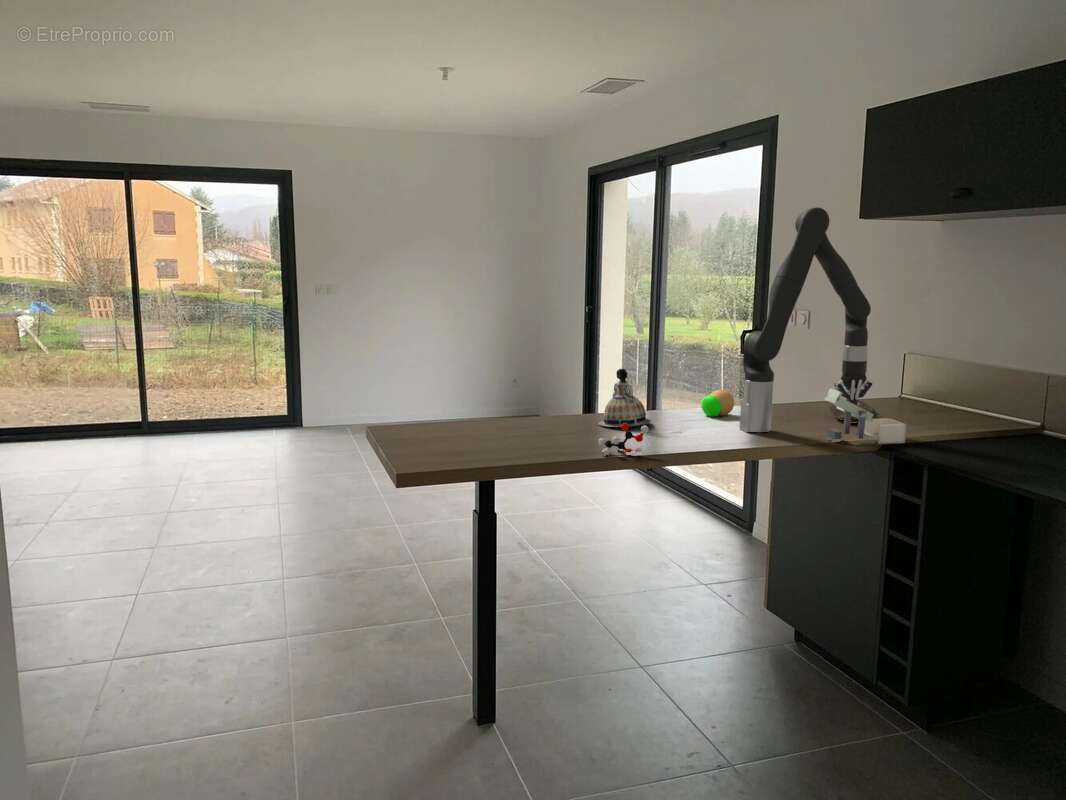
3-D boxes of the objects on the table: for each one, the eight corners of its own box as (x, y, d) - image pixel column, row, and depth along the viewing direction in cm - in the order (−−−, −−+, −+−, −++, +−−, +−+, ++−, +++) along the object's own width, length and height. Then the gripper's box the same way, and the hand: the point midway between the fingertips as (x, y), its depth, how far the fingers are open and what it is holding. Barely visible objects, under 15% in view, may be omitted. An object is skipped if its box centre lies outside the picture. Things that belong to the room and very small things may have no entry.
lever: (834, 403, 245) (840, 391, 245) (807, 393, 262) (812, 382, 262) (877, 425, 249) (883, 413, 249) (847, 413, 266) (853, 403, 265)
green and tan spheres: (737, 386, 285) (713, 395, 279) (741, 412, 286) (718, 421, 280) (714, 386, 295) (691, 395, 289) (719, 411, 296) (696, 420, 290)
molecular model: (609, 470, 231) (596, 440, 229) (606, 461, 239) (593, 432, 237) (658, 448, 230) (645, 419, 228) (652, 440, 238) (640, 411, 236)
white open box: (878, 444, 248) (880, 425, 247) (861, 437, 257) (863, 419, 256) (904, 443, 249) (906, 424, 248) (887, 436, 258) (889, 418, 257)
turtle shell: (850, 412, 268) (822, 390, 287) (846, 436, 272) (818, 413, 290) (894, 410, 271) (863, 388, 289) (889, 433, 274) (859, 411, 292)
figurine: (589, 422, 278) (592, 366, 275) (636, 420, 284) (639, 365, 281) (611, 431, 261) (614, 371, 258) (661, 429, 267) (663, 371, 264)
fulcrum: (840, 446, 245) (843, 413, 243) (819, 436, 257) (821, 404, 255) (874, 444, 247) (877, 412, 245) (851, 435, 259) (854, 403, 257)
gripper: (842, 361, 255) (839, 413, 258) (880, 359, 257) (876, 411, 260) (830, 358, 262) (827, 409, 265) (866, 356, 264) (863, 407, 267)
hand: (851, 410), depth 263 cm, fingers closed
